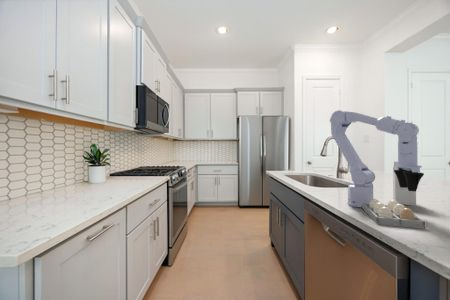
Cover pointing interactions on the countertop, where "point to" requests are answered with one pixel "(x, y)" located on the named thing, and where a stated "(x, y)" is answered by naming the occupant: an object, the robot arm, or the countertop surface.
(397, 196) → the milk carton
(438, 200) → the countertop surface
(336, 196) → the countertop surface
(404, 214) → the brown egg
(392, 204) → the cream eggs
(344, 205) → the countertop surface
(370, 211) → the egg carton
